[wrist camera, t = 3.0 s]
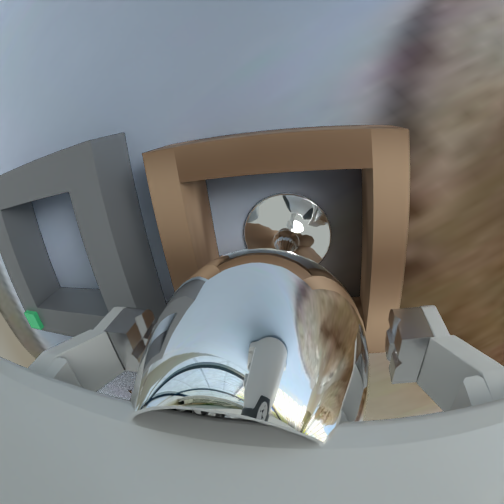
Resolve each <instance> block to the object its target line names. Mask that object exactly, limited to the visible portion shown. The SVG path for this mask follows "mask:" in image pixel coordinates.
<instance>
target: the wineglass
mask: <svg viewBox="0 0 504 504" xmlns="http://www.w3.org/2000/svg"><path fill="white" fill-rule="evenodd" d="M331 235H332V231H331V227H330V222H329V220H328V218H327V216H326V214H325V213H324V211H323V210H322V209H321V208H320V206H318V205H317V204H316V203H315V202H313V201H312V200H311V199H308V198H306V197H304V196H302V195H298V194H294V193H279V194H274V195H271V196H269V197H266V198H264V199H263V200H261V201H260V202H258V203H257V204H256V205H255V207H254V208H253V209H252V210H251V211H250V213H249V215H248V217H247V219H246V222H245V228H244V237H245V243H246V246H247V248H248V249H244V250H239V251H235V252H232V253H228V254H225V255H222V256H220V257H218V258H216V259H214V260H212V261H210V262H209V263H207V264H206V265H204V266H203V267H202V268H200V269H199V270H197V271H196V272H195V273H193V274H192V275H191V276H190V277H189V278H188V279H187V280H186V281H185V282H184V283H183V284H182V285H181V286H180V287H179V288H178V289H177V290H176V292H175V293H174V294H173V295H172V297H171V298H170V300H169V301H168V303H167V304H166V306H165V307H164V309H163V310H162V312H161V314H160V316H159V318H158V320H157V322H156V324H155V326H154V328H153V330H152V332H151V334H150V336H149V339H148V341H147V344H146V346H145V349H144V352H143V354H142V357H141V360H140V363H139V366H138V370H137V374H136V378H135V382H134V385H133V389H132V393H131V398H130V403H129V408H128V413H127V418H128V419H132V418H134V417H135V416H136V415H138V414H140V413H143V412H147V411H150V410H159V409H172V410H177V411H183V412H189V413H196V414H203V415H210V416H218V417H226V418H236V419H247V420H253V421H257V422H260V423H264V424H268V425H271V426H275V427H279V428H282V429H285V430H287V431H290V432H293V433H296V434H299V435H302V436H305V437H307V438H309V439H311V440H313V441H315V442H317V443H319V444H325V443H326V442H327V441H328V440H329V439H330V438H331V436H332V435H333V433H334V432H335V430H336V429H337V427H338V426H340V425H341V424H342V423H344V422H357V421H364V419H365V413H366V406H367V399H368V389H369V377H370V363H369V349H368V341H367V336H366V331H365V328H364V324H363V321H362V318H361V316H360V314H359V311H358V309H357V307H356V305H355V302H354V300H353V299H352V297H351V296H350V294H349V293H348V291H347V290H346V288H345V287H344V286H343V285H342V284H341V283H340V281H339V280H338V279H337V278H336V277H335V276H334V275H333V274H332V273H331V272H329V271H328V270H327V269H325V268H324V267H323V266H321V265H320V264H319V263H320V262H321V261H322V260H323V259H324V257H325V256H326V254H327V252H328V251H329V247H330V244H331Z"/></svg>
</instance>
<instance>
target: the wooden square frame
mask: <svg viewBox="0 0 504 504" xmlns="http://www.w3.org/2000/svg"><path fill="white" fill-rule="evenodd" d="M142 156H143V161H144V166H145V171H146V176H147V181H148V186H149V191H150V195H151V200H152V204H153V209H154V213H155V218H156V222H157V226H158V230H159V234H160V238H161V242H162V246H163V250H164V254H165V258H166V262H167V266H168V269H169V273H170V277H171V280H172V284H173V287H174V291H175V292H176V290H177V289H178V288H179V287H180V286H181V285H182V284H183V283H184V282H185V281H186V280H187V279H188V278H189V277H190V276H191V275H192V274H193V273H195V272H196V271H197V270H199V269H200V268H202V267H203V266H204V265H206V264H207V263H209V262H210V261H212V260H214V259H216V258H218V257H219V253H218V248H217V243H216V237H215V232H214V226H213V221H212V215H211V209H210V204H209V198H208V192H207V186H206V179H215V178H224V177H234V176H244V175H255V174H267V173H280V172H295V171H312V170H334V169H361V171H362V267H361V287H360V297H352V299H353V300H354V302H355V305H356V307H357V309H358V311H359V314H360V316H361V318H362V321H363V324H364V328H365V331H366V336H367V341H368V349H369V353H380V352H386V351H385V339H386V331H387V330H388V329H389V328H390V325H389V321H388V318H389V312H390V309H399V307H400V301H401V294H402V287H403V279H404V270H405V261H406V251H407V239H408V224H409V203H410V143H409V129H406V128H401V127H396V126H391V125H346V126H320V127H303V128H290V129H278V130H267V131H258V132H249V133H241V134H233V135H225V136H218V137H212V138H205V139H199V140H193V141H187V142H181V143H176V144H171V145H168V146H164V147H161V148H158V149H154V150H151V151H148V152H145V153H142Z"/></svg>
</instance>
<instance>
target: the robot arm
mask: <svg viewBox="0 0 504 504" xmlns="http://www.w3.org/2000/svg"><path fill="white" fill-rule="evenodd" d="M154 320H155V318H154V315H153V313H152V311H151V310H149V309H143V308H131V307H118V306H117V307H113V309H112V310H111V311H110V312H109V313H108V314H107V315H106V316H105V317H104V318H103V319H102V320H101V321H100V323H99V324H98V325H97V326H96V327H95V328H94V329H93V330H91V329H90V330H88V331H86V332H84V333H81V334H79V335H77V336H75V337H73V338H71V339H69V340H67V341H64V342H62V343H60V344H58V345H56V346H54V347H52V348H50V349H47V350H45V351H43V352H42V353H41V354H40V355H39V356H38V357H37V359H36V360H35V361H34V362H33V363H32V364H31V365H30V366H29V367H28V368H25V367H23V366H20V365H18V364H15V363H13V362H11V361H9V360H7V359H4V358H2V357H0V504H504V366H502V365H501V364H499V363H497V362H496V361H494V360H493V359H491V358H490V357H488V356H487V355H485V354H483V353H482V352H480V351H479V350H477V349H476V348H474V347H472V346H471V345H469V344H468V343H466V342H464V341H463V340H461V339H460V338H458V337H456V336H455V335H450V334H449V332H448V330H447V328H446V326H445V324H444V322H443V320H442V318H441V316H440V314H439V312H438V310H437V308H436V307H435V306H434V305H429V306H420V307H413V308H400V309H390V312H389V318H388V321H389V325H390V328H389V329H388V330H387V331H386V339H385V351H386V357H387V359H388V360H389V361H390V365H389V372H390V377H391V382H392V384H395V383H409V382H417V384H418V385H419V386H420V387H421V388H422V389H423V390H424V391H425V392H426V393H427V394H428V395H429V396H430V397H431V398H432V399H433V401H434V402H435V403H436V404H437V405H438V406H439V407H440V408H441V409H442V410H443V411H444V412H439V413H432V414H426V415H419V416H412V417H403V418H395V419H384V420H372V421H357V422H344V423H342V424H341V425H340V426H338V427H337V429H336V430H335V432H334V433H333V435H332V436H331V438H330V439H329V440H328V441H327V442H326V443H325V444H319V443H317V442H315V441H313V440H311V439H309V438H307V437H305V436H302V435H299V434H296V433H293V432H290V431H287V430H285V429H282V428H279V427H275V426H271V425H268V424H264V423H260V422H257V421H253V420H247V419H236V418H226V417H218V416H210V415H203V414H196V413H189V412H183V411H177V410H172V409H159V410H150V411H147V412H143V413H140V414H138V415H136V416H135V417H134V418H132V419H128V418H127V413H128V408H129V403H130V401H129V400H125V399H121V398H117V397H113V396H109V395H105V394H102V393H98V392H97V391H98V390H100V389H101V388H102V387H104V386H105V385H107V384H108V383H109V382H111V381H112V380H114V379H115V378H116V377H118V376H119V375H121V374H122V373H123V372H125V371H124V370H126V371H132V372H137V370H138V366H139V363H140V360H141V357H142V354H143V352H144V349H145V346H146V344H147V341H148V339H149V336H150V334H151V332H152V330H153V328H154V326H155V325H154V324H153V322H154Z"/></svg>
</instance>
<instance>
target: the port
mask: <svg viewBox="0 0 504 504" xmlns="http://www.w3.org/2000/svg"><path fill="white" fill-rule="evenodd" d="M66 192H69V194H70V198H71V202H72V205H73V209H74V213H75V216H76V220H77V223H78V227H79V230H80V233H81V237H82V240H83V243H84V246H85V249H86V252H87V255H88V258H89V261H90V264H91V267H92V270H93V273H94V275H95V278H96V281H97V284H98V286H99V289H86V288H66V287H60V285H59V283H58V280H57V278H56V275H55V273H54V270H53V268H52V265H51V262H50V260H49V257H48V254H47V251H46V248H45V245H44V242H43V239H42V236H41V233H40V230H39V227H38V224H37V220H36V217H35V214H34V210H33V207H32V203H31V201H34V200H38V199H42V198H46V197H50V196H54V195H58V194H62V193H66ZM0 253H1V256H2V259H3V261H4V264H5V266H6V269H7V271H8V274H9V276H10V279H11V281H12V283H13V286H14V288H15V290H16V293H17V295H18V297H19V299H20V301H21V303H22V306H23V308H24V310H25V312H24V314H25V316H26V318H27V320H28V322H29V324H30V326H31V328H35V329H39V330H44V331H48V332H53V333H58V334H63V335H68V336H73V337H75V336H77V335H79V334H81V333H84V332H86V331H88V330H90V329H91V330H93V329H94V328H95V327H96V326H97V325H98V324H99V323H100V321H101V320H102V319H103V318H104V317H105V316H106V315H107V314H108V313H109V312H110V311H111V310H112V309H113V307H117V306H118V307H131V308H143V309H149V310H151V311H152V313H153V315H154V318H155V320H154V322H153V324H154V325H155V324H156V322H157V320H158V318H159V316H160V314H161V312H162V310H163V309H164V307H165V306H166V302H165V298H164V295H163V292H162V289H161V285H160V282H159V278H158V275H157V272H156V268H155V265H154V261H153V257H152V254H151V250H150V246H149V243H148V239H147V235H146V231H145V227H144V223H143V219H142V215H141V211H140V207H139V202H138V198H137V193H136V189H135V184H134V180H133V175H132V170H131V165H130V160H129V155H128V150H127V144H126V139H125V133H119V134H115V135H110V136H106V137H101V138H97V139H93V140H89V141H86V142H83V143H80V144H77V145H74V146H71V147H68V148H66V149H63V150H60V151H57V152H55V153H52V154H50V155H47V156H44V157H42V158H39V159H37V160H34V161H32V162H30V163H27V164H25V165H23V166H20V167H18V168H16V169H13V170H11V171H9V172H7V173H5V174H2V175H0Z"/></svg>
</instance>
